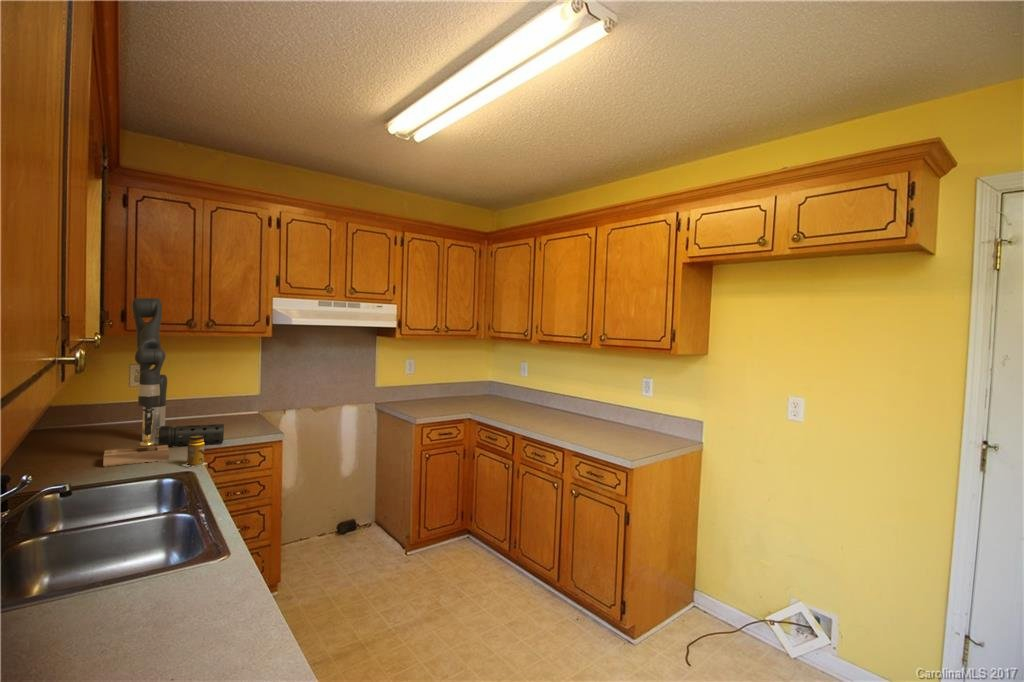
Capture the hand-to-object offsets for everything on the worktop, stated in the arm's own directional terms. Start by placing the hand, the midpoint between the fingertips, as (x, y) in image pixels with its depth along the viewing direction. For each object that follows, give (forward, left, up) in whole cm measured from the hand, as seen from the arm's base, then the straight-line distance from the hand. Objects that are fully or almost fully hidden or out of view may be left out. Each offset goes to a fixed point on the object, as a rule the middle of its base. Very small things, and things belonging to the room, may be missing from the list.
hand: (147, 433), depth 213 cm
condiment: (+17, +16, -12) cm, 26 cm away
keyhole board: (0, -3, -11) cm, 12 cm away
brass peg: (0, 0, -5) cm, 5 cm away
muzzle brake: (-21, +18, -12) cm, 30 cm away
